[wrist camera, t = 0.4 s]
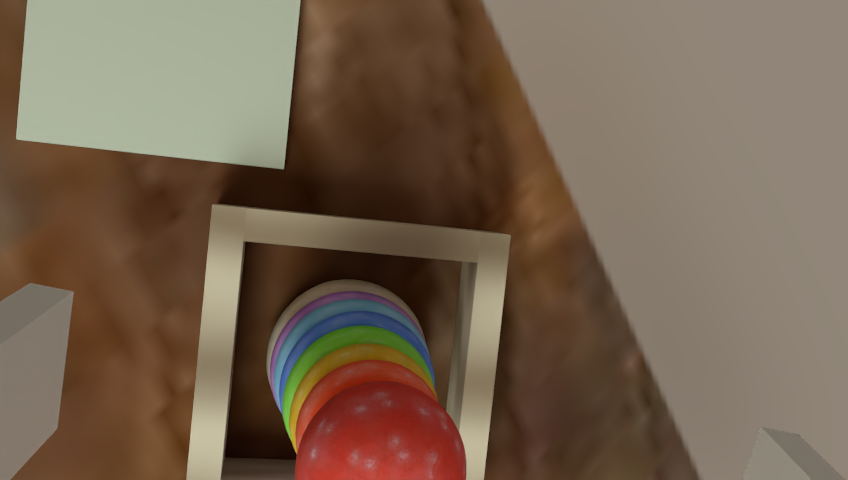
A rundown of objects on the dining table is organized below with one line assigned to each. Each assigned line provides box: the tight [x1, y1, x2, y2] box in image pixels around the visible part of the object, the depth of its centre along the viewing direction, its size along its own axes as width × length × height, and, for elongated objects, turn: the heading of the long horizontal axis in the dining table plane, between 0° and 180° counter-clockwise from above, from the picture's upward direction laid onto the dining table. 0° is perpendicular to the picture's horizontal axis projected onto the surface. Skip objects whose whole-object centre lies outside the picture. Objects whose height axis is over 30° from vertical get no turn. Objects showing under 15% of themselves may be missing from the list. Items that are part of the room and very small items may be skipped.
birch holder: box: [186, 204, 511, 480], centre depth 37 cm, size 14×14×3 cm
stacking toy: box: [266, 279, 466, 480], centre depth 29 cm, size 8×8×19 cm
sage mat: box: [16, 0, 301, 169], centre depth 36 cm, size 12×12×1 cm
